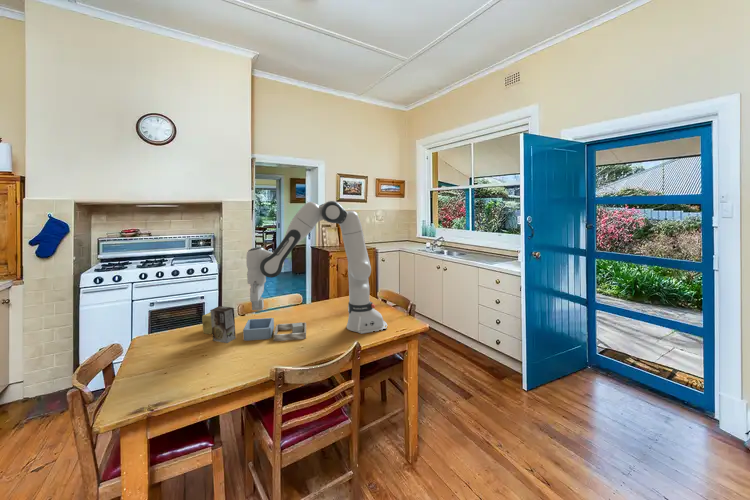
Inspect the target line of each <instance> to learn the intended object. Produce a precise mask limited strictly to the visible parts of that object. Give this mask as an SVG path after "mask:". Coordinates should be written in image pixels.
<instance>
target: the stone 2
mask: <svg viewBox="0 0 750 500" xmlns="http://www.w3.org/2000/svg"><path fill="white" fill-rule="evenodd" d="M302 323H303V322H296V323H295V322H292V329H291V330H292V331H291V332H292V333H304V328H303V325H302Z"/></svg>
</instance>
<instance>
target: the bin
mask: <svg viewBox="0 0 750 500" xmlns="http://www.w3.org/2000/svg"><path fill="white" fill-rule="evenodd" d="M274 328H275V320H274V317H267V318H266V317H264V318H263V317H262V318H251V319H248V320H247V321H246V324H245V325H244V327H243V330H242V331H243V332H242V334H243V341H259V340H269V339H272V338H273V337H272V336H273V334H274V331H275V329H274Z"/></svg>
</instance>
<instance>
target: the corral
mask: <svg viewBox="0 0 750 500" xmlns="http://www.w3.org/2000/svg"><path fill="white" fill-rule="evenodd" d="M292 323H293V322H292ZM292 323H278V324H276V326H275V327H274V328H275V329H274V331H273V342H281V341H293V340H304V339H307V322H302V325H303V333H282V334H281V333H280V334H278V332H279V331H285V330H287V331H288V330H292Z"/></svg>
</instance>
